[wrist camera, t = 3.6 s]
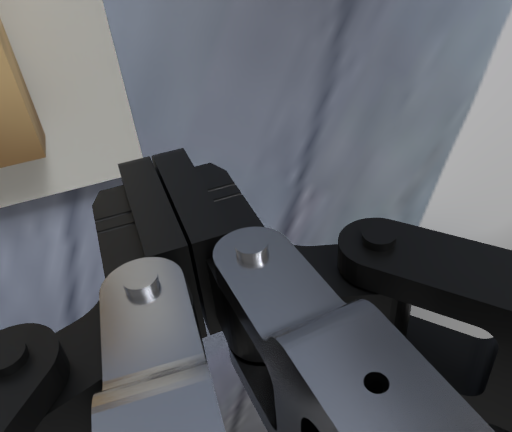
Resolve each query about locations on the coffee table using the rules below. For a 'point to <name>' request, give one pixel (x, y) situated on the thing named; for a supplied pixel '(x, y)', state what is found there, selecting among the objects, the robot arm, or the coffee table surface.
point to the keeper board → (68, 97)
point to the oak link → (17, 112)
